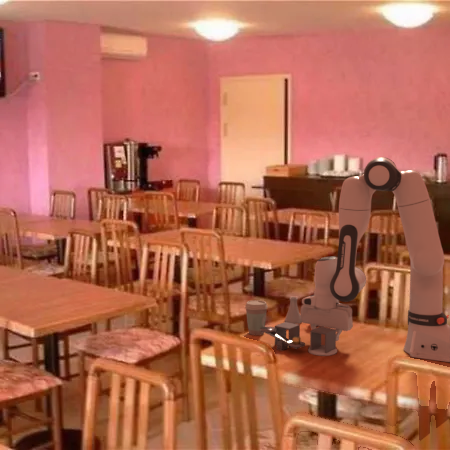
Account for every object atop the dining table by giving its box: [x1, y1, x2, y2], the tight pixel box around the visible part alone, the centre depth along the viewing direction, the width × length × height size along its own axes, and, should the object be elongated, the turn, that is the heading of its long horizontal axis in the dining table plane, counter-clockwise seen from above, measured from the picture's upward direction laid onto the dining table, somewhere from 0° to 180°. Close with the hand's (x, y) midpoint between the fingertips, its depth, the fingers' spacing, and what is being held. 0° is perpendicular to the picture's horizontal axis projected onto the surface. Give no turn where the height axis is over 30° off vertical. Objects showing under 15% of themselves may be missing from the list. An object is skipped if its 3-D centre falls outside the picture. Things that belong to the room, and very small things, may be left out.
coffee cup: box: [244, 299, 269, 336], centre depth 292 cm, size 8×9×12 cm
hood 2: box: [309, 326, 337, 353], centre depth 269 cm, size 6×6×7 cm
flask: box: [284, 296, 302, 325], centre depth 308 cm, size 7×7×10 cm
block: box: [321, 334, 325, 345], centre depth 279 cm, size 4×4×4 cm
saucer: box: [307, 345, 338, 357], centre depth 269 cm, size 10×10×1 cm
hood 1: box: [274, 321, 301, 349], centre depth 278 cm, size 6×6×7 cm
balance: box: [260, 326, 306, 352], centre depth 273 cm, size 18×6×6 cm, turn 51°
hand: (325, 338), depth 279 cm, fingers open, 7 cm apart
